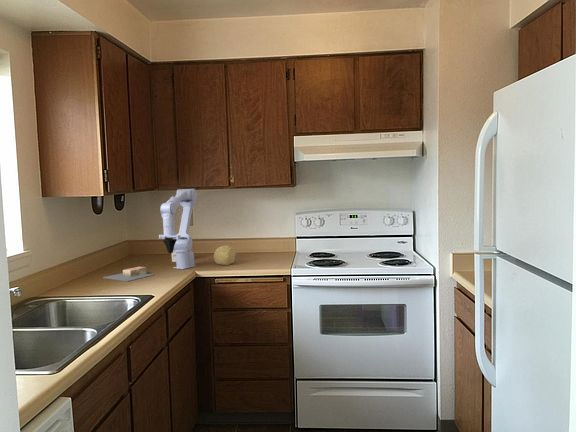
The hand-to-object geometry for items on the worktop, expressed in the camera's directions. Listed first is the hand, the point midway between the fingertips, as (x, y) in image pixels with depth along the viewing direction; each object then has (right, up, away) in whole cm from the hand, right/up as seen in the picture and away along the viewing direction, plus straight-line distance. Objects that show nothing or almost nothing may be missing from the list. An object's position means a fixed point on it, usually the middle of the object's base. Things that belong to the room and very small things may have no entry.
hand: (170, 253), depth 255 cm
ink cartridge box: (-4, -8, +39) cm, 40 cm away
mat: (-20, -12, -4) cm, 24 cm away
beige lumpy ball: (+26, -8, +20) cm, 34 cm away
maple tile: (-15, -9, +3) cm, 18 cm away
